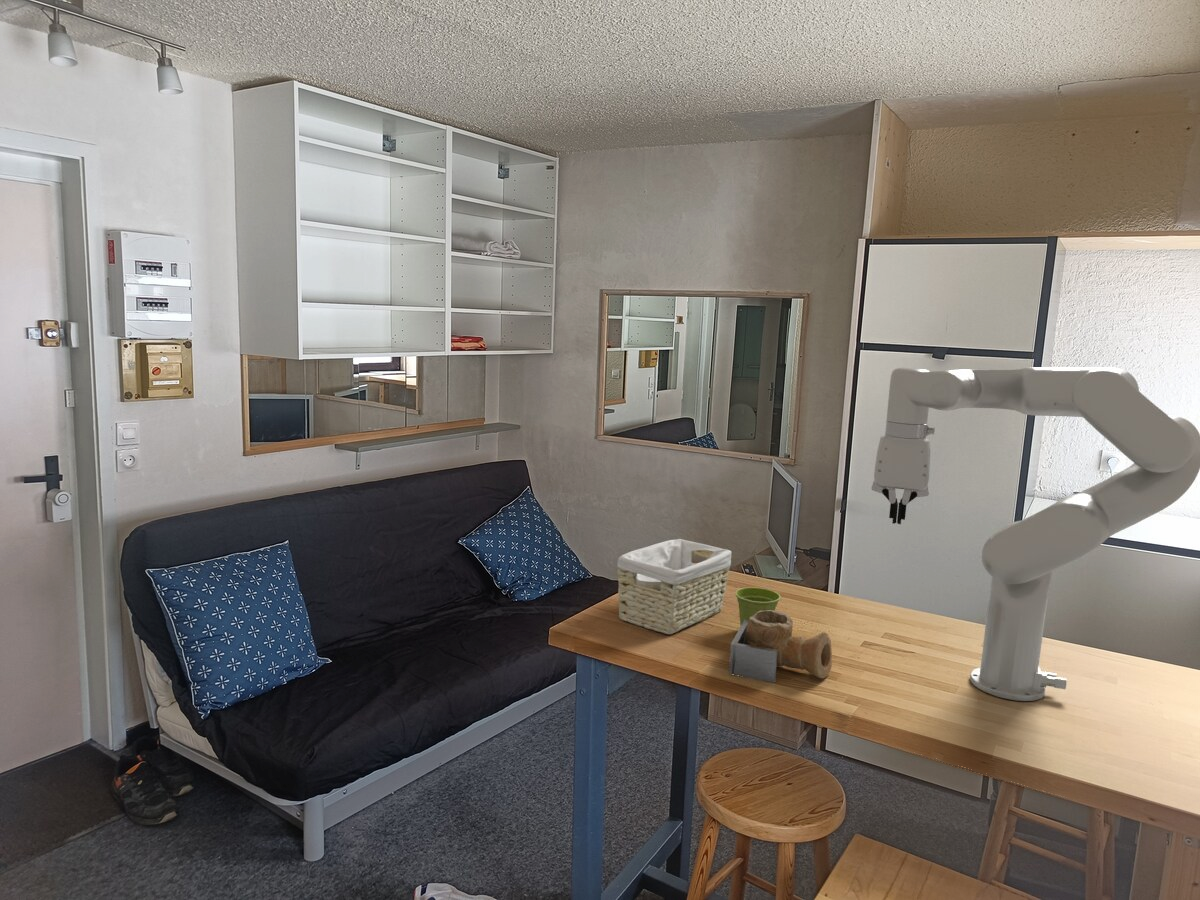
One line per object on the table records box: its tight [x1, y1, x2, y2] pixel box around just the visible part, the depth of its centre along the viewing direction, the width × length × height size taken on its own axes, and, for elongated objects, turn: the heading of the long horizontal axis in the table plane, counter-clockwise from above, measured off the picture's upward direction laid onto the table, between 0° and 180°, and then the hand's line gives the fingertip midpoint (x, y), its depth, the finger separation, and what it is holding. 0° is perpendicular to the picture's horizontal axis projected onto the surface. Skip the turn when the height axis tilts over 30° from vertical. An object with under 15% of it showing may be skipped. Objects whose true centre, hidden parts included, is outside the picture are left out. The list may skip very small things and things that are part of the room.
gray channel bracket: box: [728, 620, 778, 684], centre depth 160 cm, size 8×14×6 cm, turn 160°
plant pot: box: [734, 586, 782, 627], centre depth 176 cm, size 9×9×9 cm
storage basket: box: [616, 538, 732, 635], centre depth 184 cm, size 24×16×15 cm
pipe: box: [746, 610, 833, 679], centre depth 158 cm, size 9×16×10 cm, turn 64°
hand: (896, 522), depth 165 cm, fingers closed
